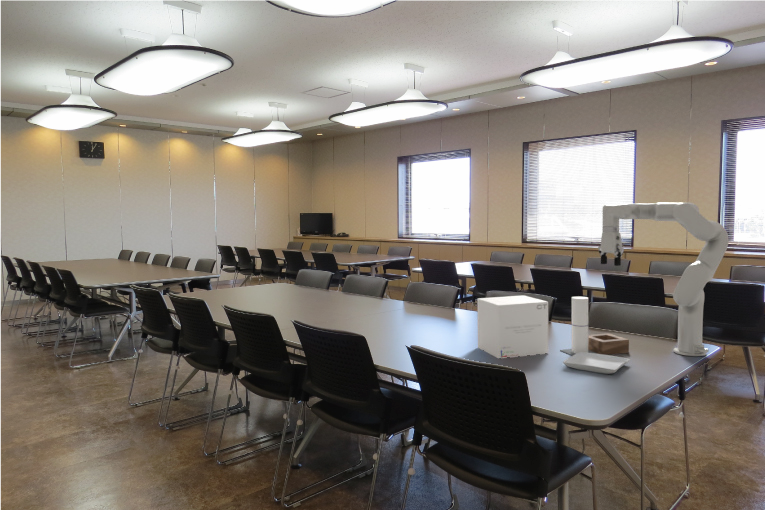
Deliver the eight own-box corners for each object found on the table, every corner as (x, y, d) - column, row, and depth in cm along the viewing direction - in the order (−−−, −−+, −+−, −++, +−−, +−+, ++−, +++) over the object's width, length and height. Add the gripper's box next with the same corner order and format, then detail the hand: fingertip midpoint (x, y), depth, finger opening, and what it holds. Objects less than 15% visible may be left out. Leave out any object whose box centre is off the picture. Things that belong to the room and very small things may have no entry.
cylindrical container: (570, 352, 238) (570, 298, 236) (572, 349, 244) (572, 296, 242) (587, 354, 234) (587, 299, 232) (589, 350, 241) (589, 296, 239)
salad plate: (579, 358, 232) (579, 350, 232) (630, 365, 219) (630, 357, 218) (561, 369, 216) (561, 361, 215) (616, 378, 202) (616, 369, 202)
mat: (599, 354, 235) (599, 353, 235) (576, 357, 232) (576, 356, 232) (582, 348, 246) (582, 347, 246) (560, 350, 243) (560, 349, 243)
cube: (498, 359, 233) (498, 305, 231) (477, 348, 253) (477, 298, 252) (548, 354, 239) (548, 301, 238) (523, 344, 260) (523, 295, 258)
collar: (628, 352, 238) (628, 339, 237) (602, 355, 234) (602, 342, 234) (607, 345, 251) (608, 333, 251) (582, 348, 248) (582, 335, 247)
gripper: (630, 229, 247) (629, 265, 249) (605, 229, 264) (605, 263, 265) (616, 230, 245) (616, 266, 247) (592, 229, 262) (592, 263, 263)
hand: (610, 264), depth 256 cm, fingers open, 9 cm apart
